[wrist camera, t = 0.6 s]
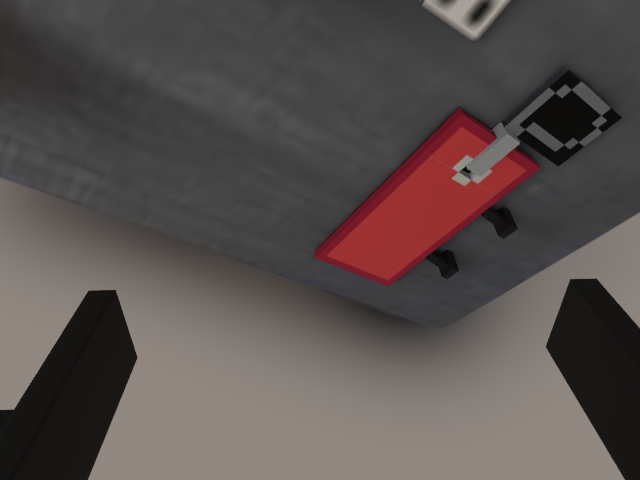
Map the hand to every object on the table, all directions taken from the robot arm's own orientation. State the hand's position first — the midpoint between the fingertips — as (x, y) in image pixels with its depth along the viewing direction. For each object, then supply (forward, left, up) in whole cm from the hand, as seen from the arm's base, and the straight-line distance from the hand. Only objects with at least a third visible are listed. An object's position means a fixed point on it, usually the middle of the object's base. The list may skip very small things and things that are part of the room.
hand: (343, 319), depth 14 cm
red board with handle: (+12, +23, -27) cm, 38 cm away
